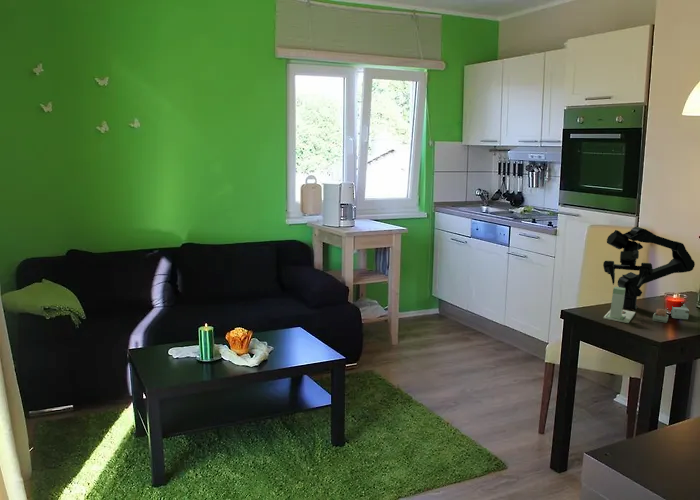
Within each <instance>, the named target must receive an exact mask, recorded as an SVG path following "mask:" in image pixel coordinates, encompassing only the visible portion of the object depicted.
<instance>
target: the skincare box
mask: <svg viewBox="0 0 700 500" xmlns="http://www.w3.org/2000/svg"><path fill="white" fill-rule="evenodd" d="M670 316H671V318H673V319H679V320H689V316H690V310H689V308H688V307H687V305H686V304H685V303H684V304H683V306H681V307H673V306H672V310H671V315H670Z"/></svg>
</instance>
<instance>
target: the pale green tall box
mask: <svg viewBox="0 0 700 500" xmlns="http://www.w3.org/2000/svg"><path fill="white" fill-rule="evenodd" d="M625 289H626V288H621V287H619V286H614V287H613V288H612V296H611V304H610V309H611V311H610V310H609V311H610V317H614V318H619V319H620V318H621V317H622V312H623V310H624V308H623V304H624V297H625Z"/></svg>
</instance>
